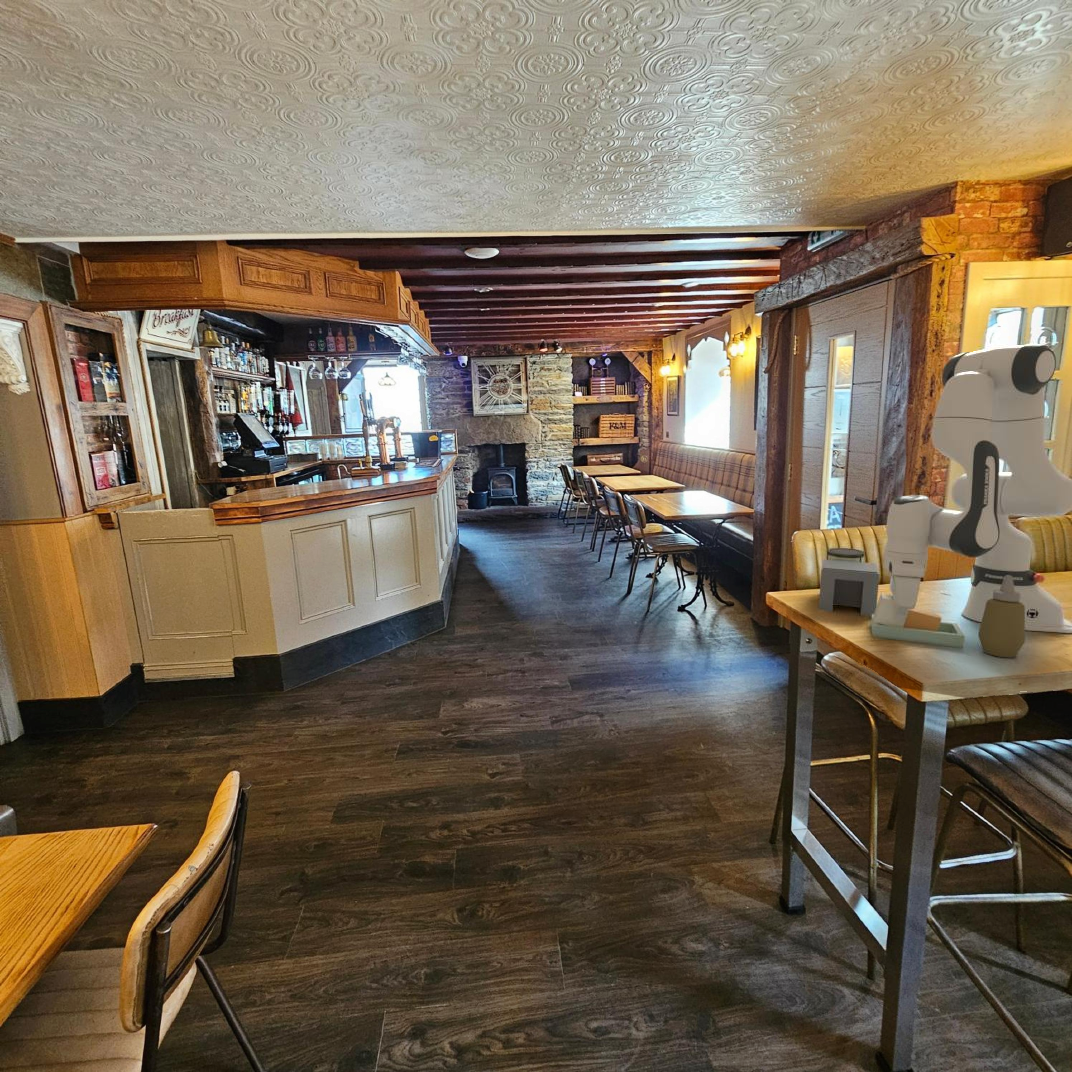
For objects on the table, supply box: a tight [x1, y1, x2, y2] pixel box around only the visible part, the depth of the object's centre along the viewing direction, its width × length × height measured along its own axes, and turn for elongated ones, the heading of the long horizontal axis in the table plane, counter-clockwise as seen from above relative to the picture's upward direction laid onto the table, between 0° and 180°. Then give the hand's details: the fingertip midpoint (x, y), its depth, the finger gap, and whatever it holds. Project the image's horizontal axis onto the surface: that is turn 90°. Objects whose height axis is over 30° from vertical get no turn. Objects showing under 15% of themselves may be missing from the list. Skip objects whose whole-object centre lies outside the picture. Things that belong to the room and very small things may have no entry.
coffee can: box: [825, 547, 866, 563], centre depth 174 cm, size 10×10×14 cm
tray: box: [870, 614, 965, 649], centre depth 139 cm, size 18×10×3 cm, turn 62°
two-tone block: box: [873, 592, 942, 631], centre depth 139 cm, size 5×13×6 cm, turn 63°
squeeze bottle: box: [978, 575, 1026, 659], centre depth 126 cm, size 8×8×18 cm
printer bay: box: [818, 559, 880, 617], centre depth 162 cm, size 14×13×12 cm
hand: (899, 616), depth 140 cm, fingers closed on two-tone block, 5 cm apart
